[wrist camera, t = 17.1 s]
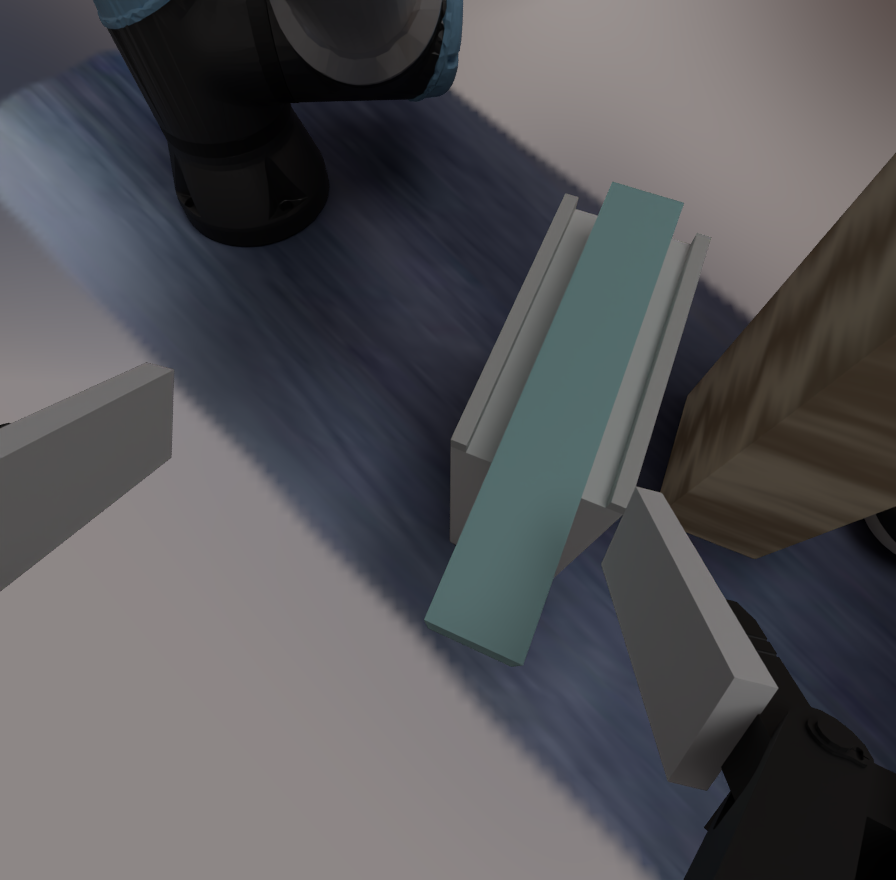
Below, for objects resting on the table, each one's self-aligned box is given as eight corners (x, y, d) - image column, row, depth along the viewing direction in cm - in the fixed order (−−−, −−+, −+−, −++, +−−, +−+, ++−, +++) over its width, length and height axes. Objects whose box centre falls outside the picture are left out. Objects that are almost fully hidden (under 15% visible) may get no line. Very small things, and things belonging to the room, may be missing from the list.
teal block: (511, 666, 20) (522, 665, 17) (427, 628, 21) (424, 620, 18) (657, 256, 29) (684, 202, 25) (594, 235, 29) (612, 181, 26)
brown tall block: (754, 559, 41) (1448, 298, 13) (652, 518, 42) (1071, 200, 14) (780, 428, 45) (1336, 17, 17) (687, 395, 47) (1059, -38, 18)
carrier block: (547, 583, 40) (628, 509, 22) (449, 541, 42) (450, 439, 23) (608, 409, 46) (711, 237, 28) (520, 377, 47) (565, 193, 29)
